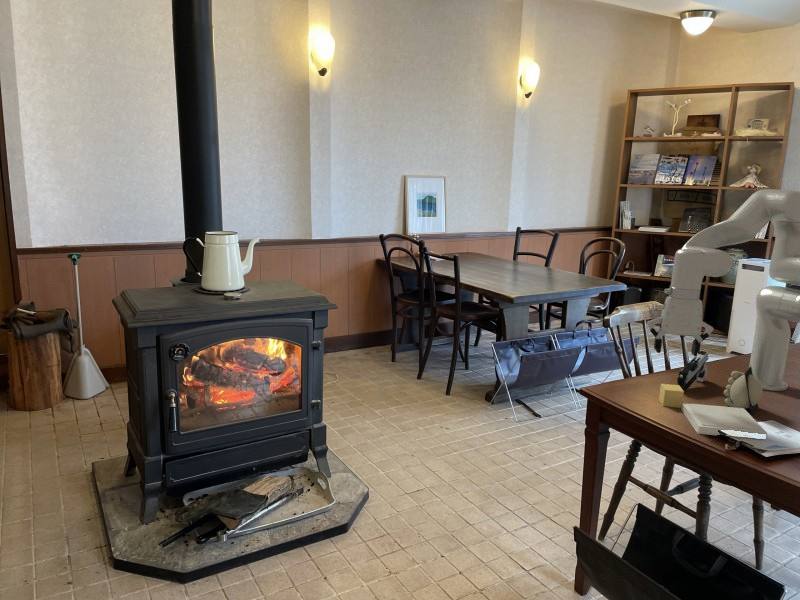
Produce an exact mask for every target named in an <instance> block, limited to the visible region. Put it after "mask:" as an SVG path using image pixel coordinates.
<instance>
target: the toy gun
mask: <svg viewBox="0 0 800 600" xmlns="http://www.w3.org/2000/svg"><path fill="white" fill-rule="evenodd" d="M707 361H709V351H704V350H701V349H700V351H699V353H697V356H694V355H693V356H692V358H691V359H690V361H689V362H688V363H687V364H686V366H684V368H682V369H681V370H680V371H679V372H678V377H677V385H679V386H680V387H681V388H682V390H683V391H684V393H686V392H687V390H688V389H689V388H691V386H692V384H693V383H694V382H695V381H696V382H698V381H699V383H704V381H705V379H706V377H707V376H708V367H707V364H706V363H707Z"/></svg>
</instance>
